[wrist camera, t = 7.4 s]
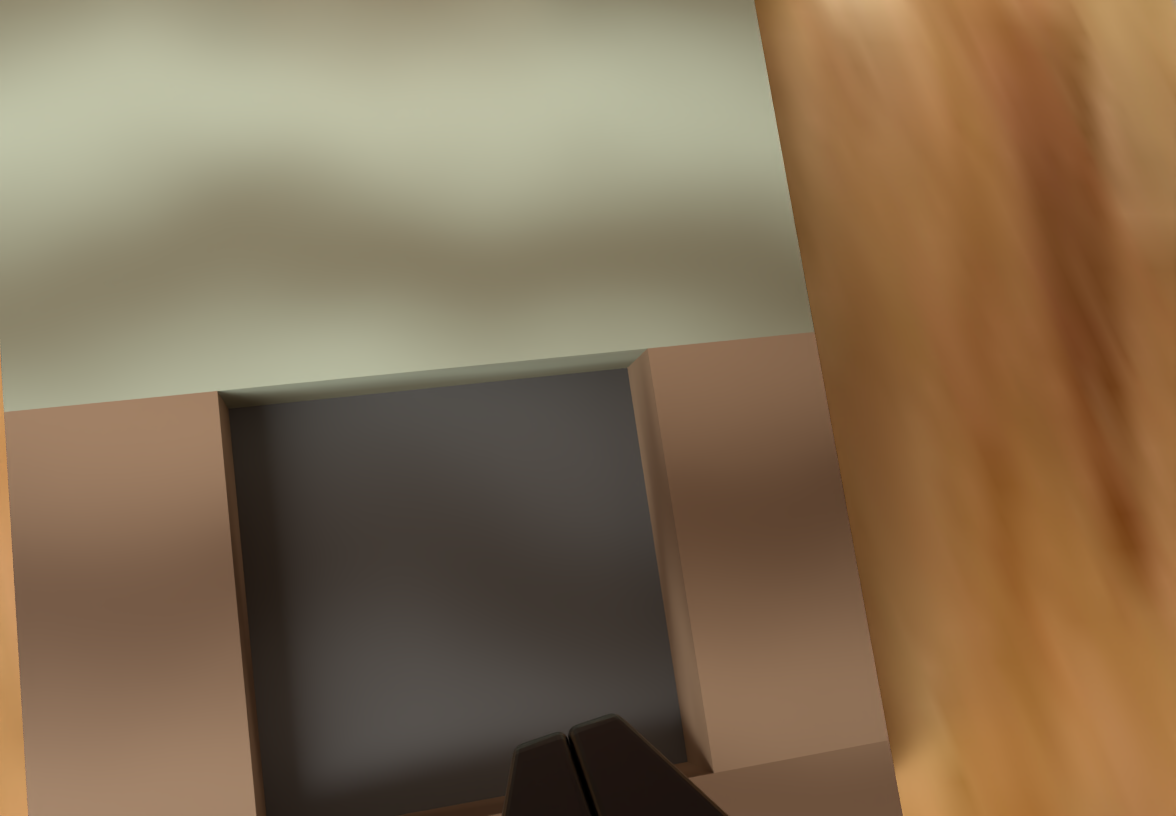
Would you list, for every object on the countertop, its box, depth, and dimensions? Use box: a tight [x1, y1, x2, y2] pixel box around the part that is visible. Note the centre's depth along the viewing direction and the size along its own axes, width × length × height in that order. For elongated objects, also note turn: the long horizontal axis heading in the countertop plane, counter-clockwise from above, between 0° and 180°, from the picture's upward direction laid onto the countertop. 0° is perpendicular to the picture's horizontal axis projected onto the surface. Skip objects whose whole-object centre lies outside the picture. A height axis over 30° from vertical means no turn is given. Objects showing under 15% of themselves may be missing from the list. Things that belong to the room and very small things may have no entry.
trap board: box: [0, 0, 903, 816], centre depth 23 cm, size 35×15×2 cm, turn 8°
